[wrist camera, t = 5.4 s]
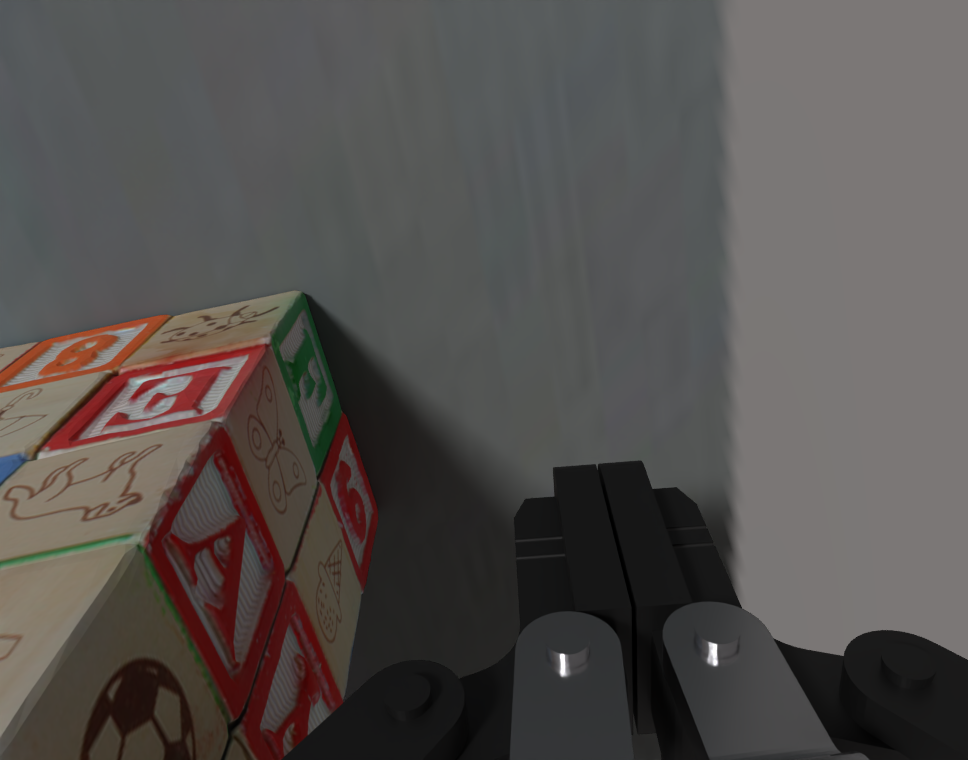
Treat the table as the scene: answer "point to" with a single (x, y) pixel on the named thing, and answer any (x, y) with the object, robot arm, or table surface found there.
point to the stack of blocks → (177, 538)
